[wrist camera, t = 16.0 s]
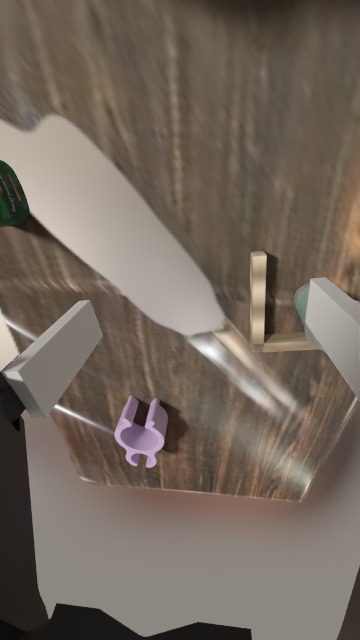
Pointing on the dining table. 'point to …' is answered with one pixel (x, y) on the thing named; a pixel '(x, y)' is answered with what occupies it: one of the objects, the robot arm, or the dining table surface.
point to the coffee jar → (11, 198)
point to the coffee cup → (301, 307)
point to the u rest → (257, 314)
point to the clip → (142, 432)
